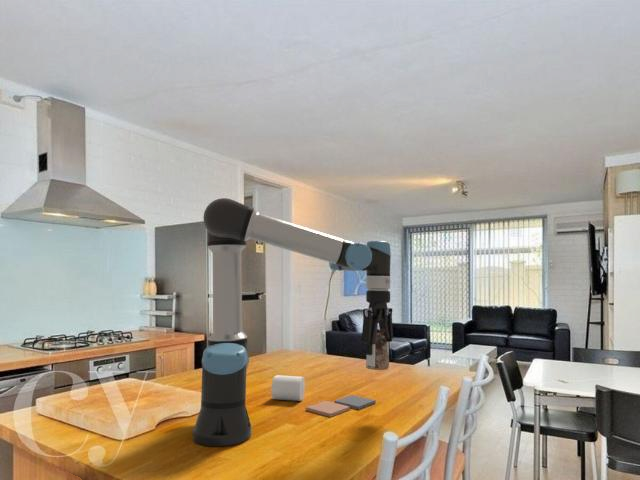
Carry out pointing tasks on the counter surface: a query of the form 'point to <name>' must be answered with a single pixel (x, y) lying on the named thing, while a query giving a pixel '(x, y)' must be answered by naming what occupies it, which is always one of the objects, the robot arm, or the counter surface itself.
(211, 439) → the robot arm
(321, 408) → the terracotta tile
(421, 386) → the counter surface
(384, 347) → the figurine
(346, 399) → the slate tile
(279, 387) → the white rounded block
